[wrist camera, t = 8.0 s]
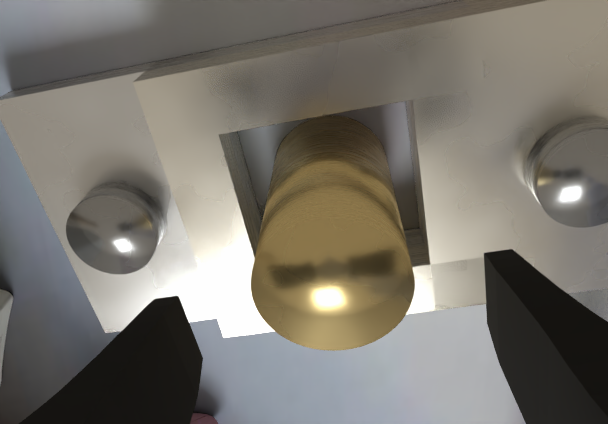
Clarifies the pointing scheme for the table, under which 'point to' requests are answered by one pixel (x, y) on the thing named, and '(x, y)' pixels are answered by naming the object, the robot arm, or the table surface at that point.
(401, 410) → the table surface
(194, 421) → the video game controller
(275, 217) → the brass pin
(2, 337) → the skincare box
